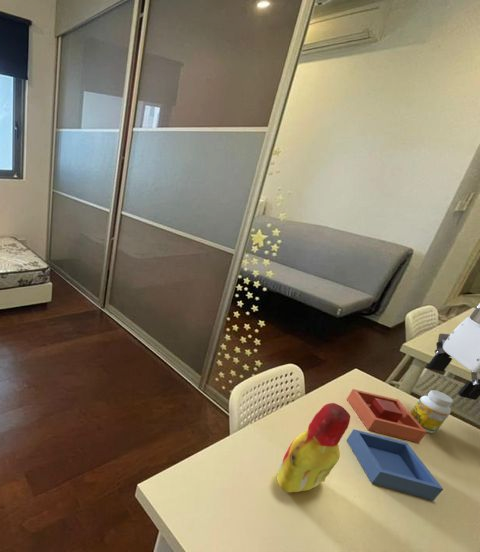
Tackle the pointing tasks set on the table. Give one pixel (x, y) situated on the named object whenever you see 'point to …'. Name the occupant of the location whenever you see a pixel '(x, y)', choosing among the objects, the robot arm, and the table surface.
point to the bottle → (314, 450)
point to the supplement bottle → (432, 410)
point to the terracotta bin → (402, 429)
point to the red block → (385, 410)
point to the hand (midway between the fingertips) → (449, 382)
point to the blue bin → (393, 465)
